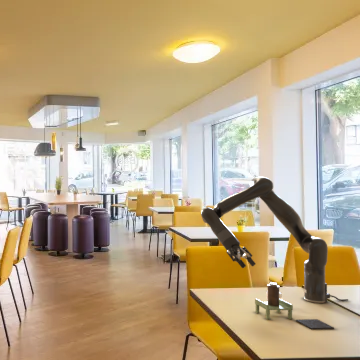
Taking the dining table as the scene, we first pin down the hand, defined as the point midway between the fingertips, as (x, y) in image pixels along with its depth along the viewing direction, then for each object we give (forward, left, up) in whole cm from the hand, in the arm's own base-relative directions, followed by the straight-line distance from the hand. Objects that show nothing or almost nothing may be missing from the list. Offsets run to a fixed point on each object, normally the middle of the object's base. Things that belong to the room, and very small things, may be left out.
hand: (249, 266), depth 190 cm
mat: (-17, +22, -21) cm, 35 cm away
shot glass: (-15, -4, -21) cm, 26 cm away
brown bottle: (-6, +10, -16) cm, 20 cm away
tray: (-6, +10, -21) cm, 24 cm away
